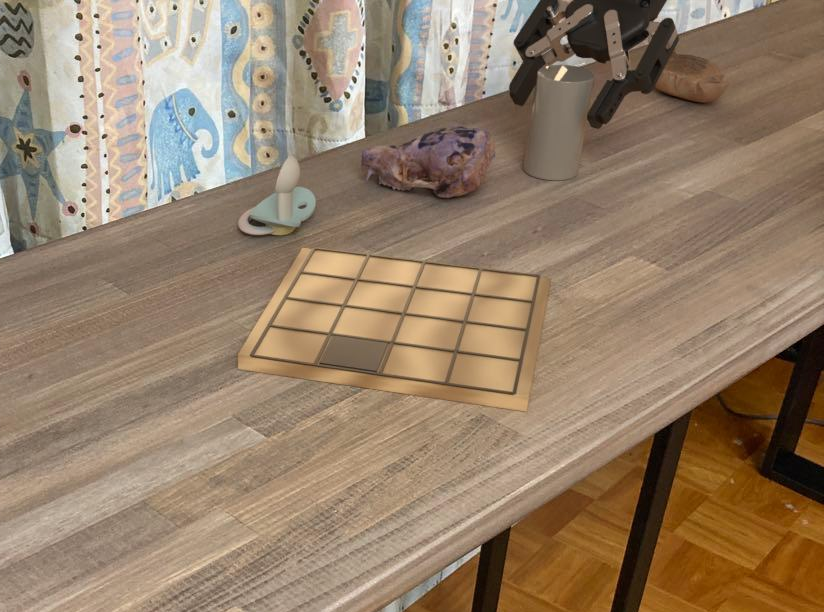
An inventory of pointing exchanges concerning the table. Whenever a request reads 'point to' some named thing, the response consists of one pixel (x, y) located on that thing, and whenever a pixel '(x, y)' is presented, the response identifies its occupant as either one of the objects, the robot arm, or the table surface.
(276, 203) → the pacifier
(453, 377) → the board
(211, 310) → the table surface
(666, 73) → the oil lamp
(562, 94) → the grey upright cylinder
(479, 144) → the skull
